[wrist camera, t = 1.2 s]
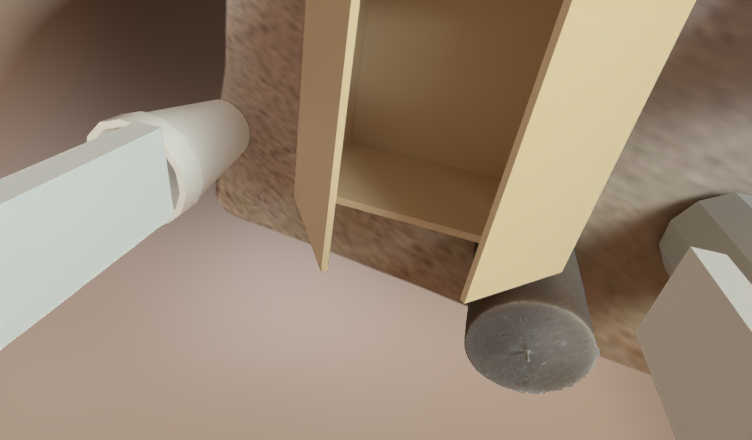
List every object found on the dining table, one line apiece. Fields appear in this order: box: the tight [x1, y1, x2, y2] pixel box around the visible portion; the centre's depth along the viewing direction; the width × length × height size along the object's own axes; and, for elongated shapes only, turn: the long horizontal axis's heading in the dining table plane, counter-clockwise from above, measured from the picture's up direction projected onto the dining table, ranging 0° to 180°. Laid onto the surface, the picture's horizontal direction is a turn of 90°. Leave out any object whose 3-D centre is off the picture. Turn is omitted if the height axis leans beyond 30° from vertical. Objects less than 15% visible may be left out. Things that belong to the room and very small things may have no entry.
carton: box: [336, 0, 563, 243], centre depth 32 cm, size 20×19×12 cm
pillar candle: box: [465, 242, 600, 394], centre depth 38 cm, size 10×10×15 cm
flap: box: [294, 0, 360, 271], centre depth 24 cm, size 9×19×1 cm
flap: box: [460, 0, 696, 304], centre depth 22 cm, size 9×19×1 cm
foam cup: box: [87, 100, 250, 224], centre depth 41 cm, size 10×9×13 cm
